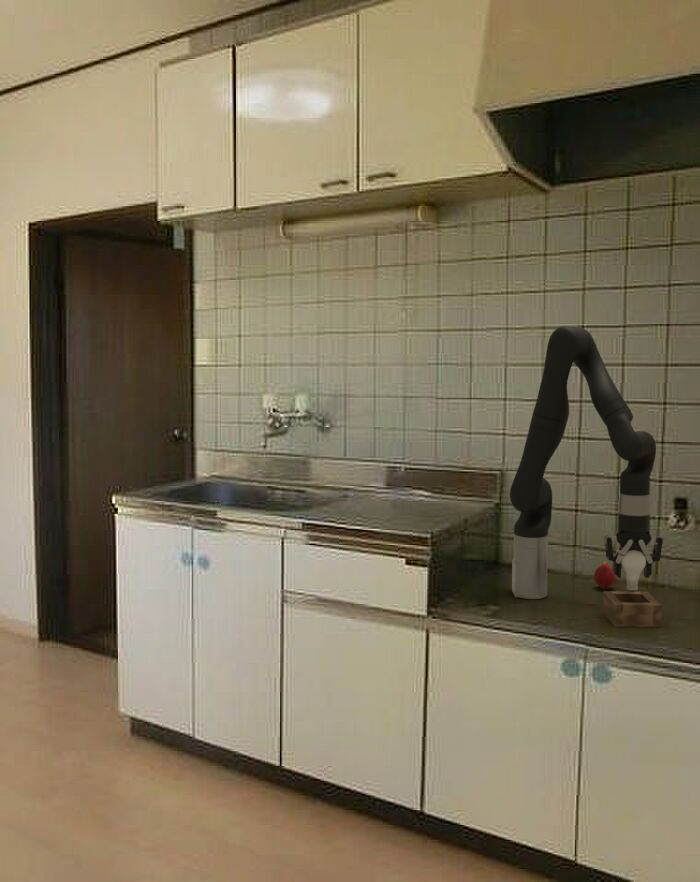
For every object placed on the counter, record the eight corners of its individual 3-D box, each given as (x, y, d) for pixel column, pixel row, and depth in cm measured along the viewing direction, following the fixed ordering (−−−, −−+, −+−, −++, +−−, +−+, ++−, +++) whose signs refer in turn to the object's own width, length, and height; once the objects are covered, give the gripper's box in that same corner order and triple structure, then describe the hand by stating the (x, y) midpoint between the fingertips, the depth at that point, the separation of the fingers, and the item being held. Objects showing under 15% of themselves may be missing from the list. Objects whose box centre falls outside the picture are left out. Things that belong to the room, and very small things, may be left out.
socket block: (614, 626, 193) (615, 604, 193) (602, 611, 204) (603, 591, 204) (661, 627, 193) (661, 605, 192) (646, 612, 204) (647, 591, 203)
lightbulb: (645, 596, 194) (646, 552, 193) (618, 593, 196) (619, 550, 195) (645, 588, 200) (646, 546, 199) (619, 586, 202) (619, 544, 201)
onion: (611, 593, 220) (611, 565, 219) (590, 590, 224) (591, 562, 223) (618, 588, 225) (618, 561, 224) (598, 585, 228) (598, 558, 228)
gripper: (608, 514, 192) (607, 581, 194) (668, 514, 192) (666, 581, 193) (600, 508, 200) (599, 573, 202) (658, 508, 199) (656, 573, 201)
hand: (632, 576), depth 197 cm, fingers closed on lightbulb, 6 cm apart
